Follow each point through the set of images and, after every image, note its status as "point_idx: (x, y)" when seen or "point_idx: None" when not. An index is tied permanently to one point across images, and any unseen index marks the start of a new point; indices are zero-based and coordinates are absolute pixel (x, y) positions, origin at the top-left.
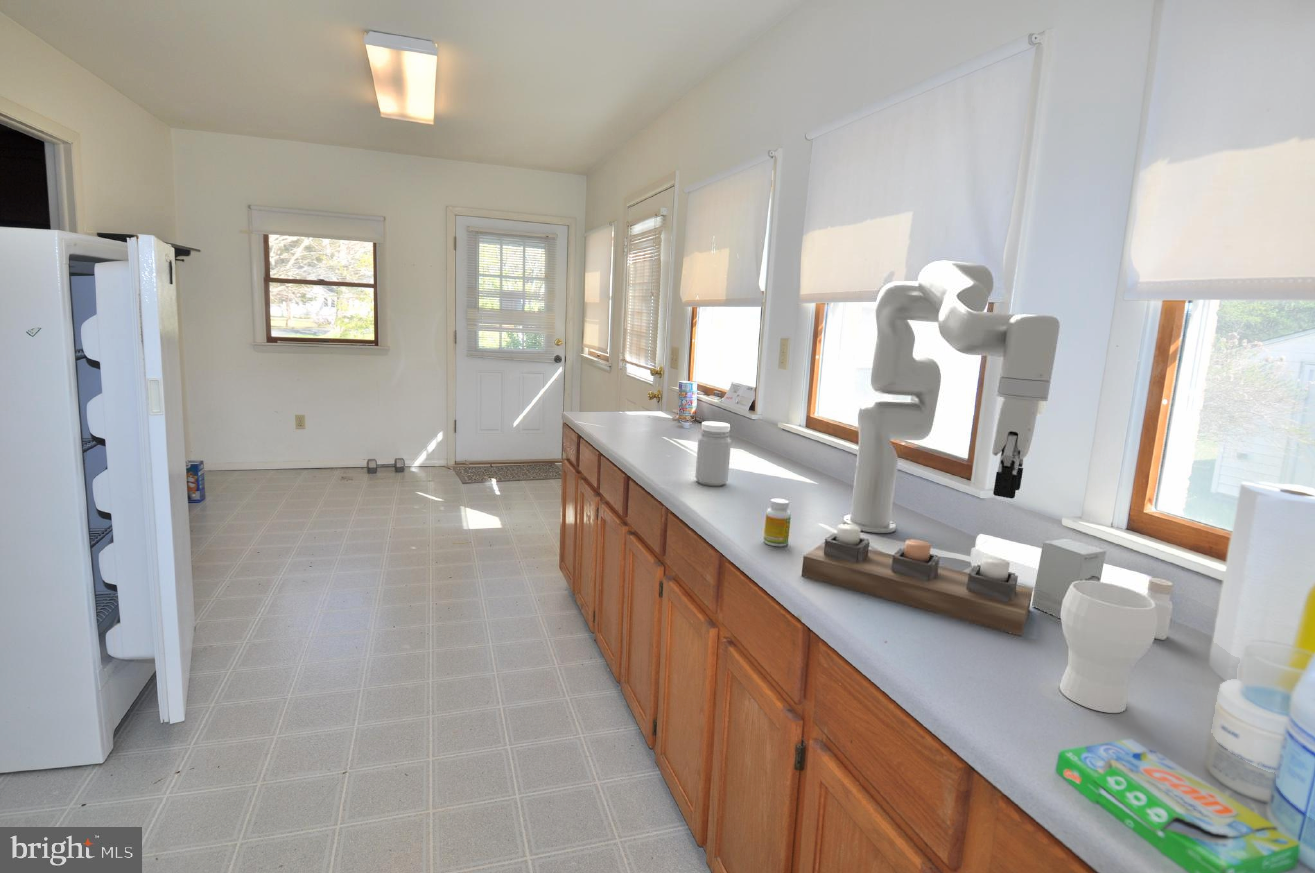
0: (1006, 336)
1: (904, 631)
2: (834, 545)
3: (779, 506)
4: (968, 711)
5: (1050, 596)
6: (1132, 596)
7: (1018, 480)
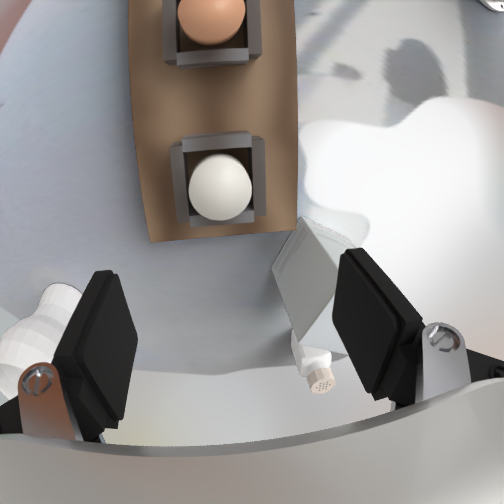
0: None
1: (40, 102)
2: None
3: None
4: None
5: (293, 252)
6: None
7: (347, 345)
